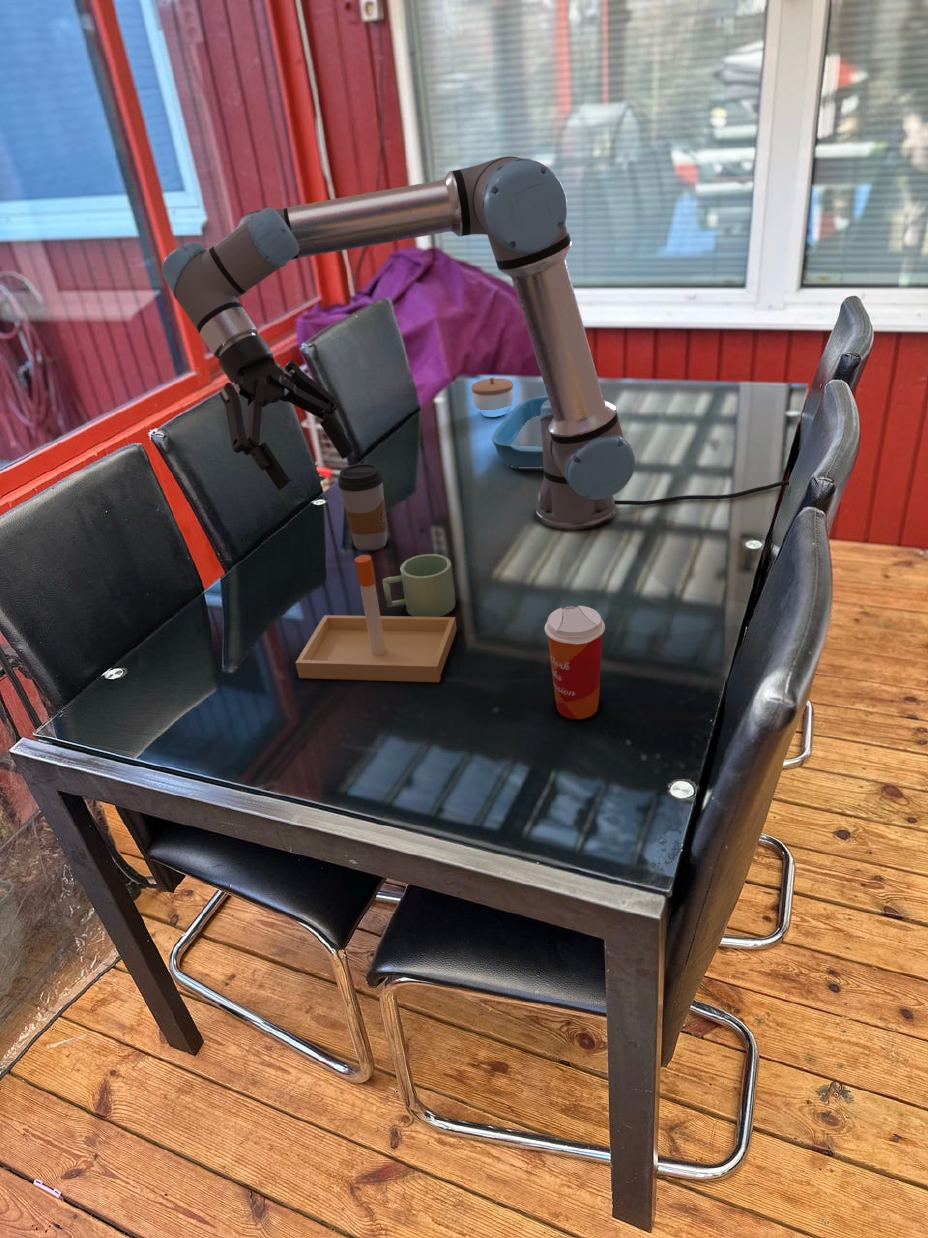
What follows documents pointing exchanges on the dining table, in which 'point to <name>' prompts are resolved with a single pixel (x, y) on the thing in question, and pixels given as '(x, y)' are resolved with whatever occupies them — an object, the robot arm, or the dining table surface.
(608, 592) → the dining table surface
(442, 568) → the mug
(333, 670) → the tray
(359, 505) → the coffee cup
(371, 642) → the marker
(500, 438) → the casserole dish
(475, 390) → the trinket box
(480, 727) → the dining table surface
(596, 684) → the paper cup
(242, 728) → the dining table surface
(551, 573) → the dining table surface
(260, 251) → the robot arm
